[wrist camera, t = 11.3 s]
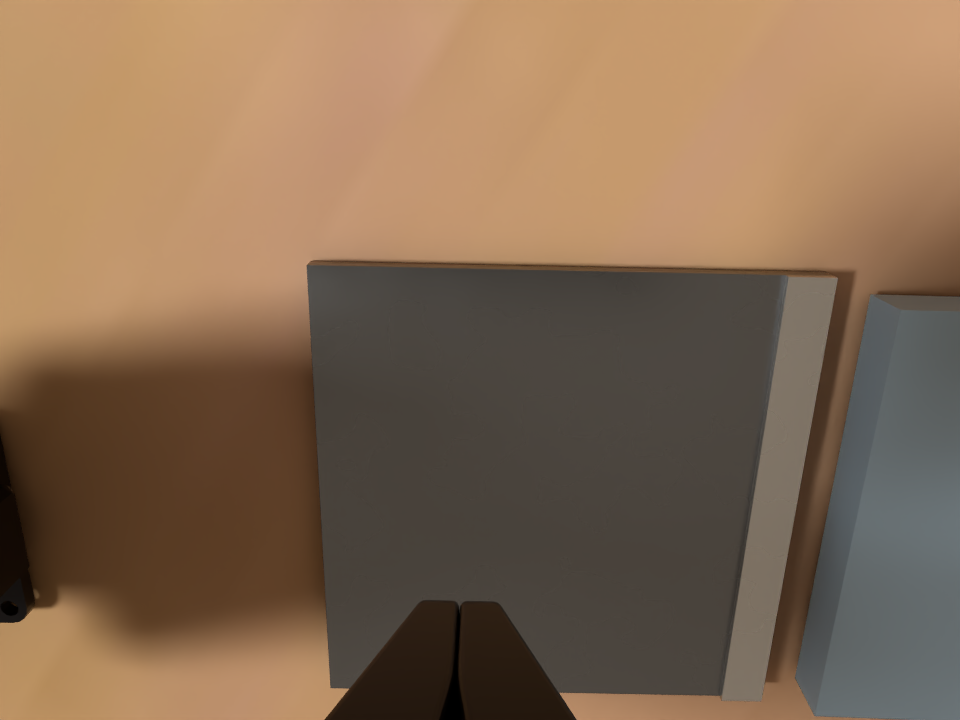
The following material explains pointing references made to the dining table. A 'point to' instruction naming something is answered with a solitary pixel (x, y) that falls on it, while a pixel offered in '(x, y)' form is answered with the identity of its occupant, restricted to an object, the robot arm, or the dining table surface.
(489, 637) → the robot arm
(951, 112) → the dining table surface
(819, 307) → the plate
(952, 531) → the grey rectangular slab
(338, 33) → the dining table surface
